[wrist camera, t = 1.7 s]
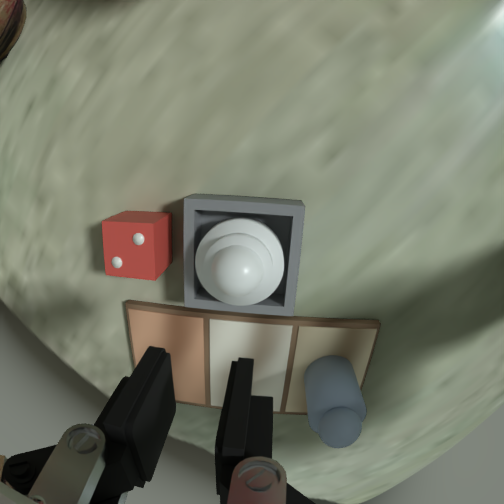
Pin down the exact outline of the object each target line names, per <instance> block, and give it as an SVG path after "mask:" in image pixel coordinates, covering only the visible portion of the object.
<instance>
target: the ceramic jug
mask: <svg viewBox="0 0 504 504" xmlns="http://www.w3.org/2000/svg"><path fill="white" fill-rule="evenodd" d="M25 20H26V6H25V4H24V2H23V0H0V61H2V60H3V59H5V58H6V57H7V55H8V53H9V51H10V49H11V48H12V47H13V46H14V44H15V43H16V41H17V40H18V38H19V36H20V34H21V32H22V29H23V27H24V24H25Z"/></svg>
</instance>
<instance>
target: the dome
mask: <svg viewBox="0 0 504 504" xmlns="http://www.w3.org/2000/svg"><path fill="white" fill-rule="evenodd" d="M195 267H196V272H197V275H198V278H199V280H200V282H201V284H202V285H203V287H204V288H205V289H206V290H207V292H208V293H210V294H211V295H212V296H213V297H215V298H216V299H218V300H220V301H222V302H224V303H227V304H231V305H237V306H245V305H252V304H255V303H258V302H260V301H262V300H264V299H266V298H267V297H269V296H270V295H271V294H272V293H273V292H274V291H275V290H276V288H277V287H278V285H279V283H280V281H281V279H282V276H283V271H284V257H283V249H282V245H281V243H280V240H279V239H278V237H277V235H276V234H275V233H274V231H273V230H272V229H271V228H270V227H269V226H267V225H266V224H264V223H263V222H261V221H259V220H257V219H254V218H250V217H231V218H228V219H225V220H223V221H221V222H219V223H217V224H216V225H215V226H213V227H212V228H211V229H210V230H209V232H208V233H207V234H206V235H205V236H204V238H203V239H202V241H201V242H200V244H199V246H198V249H197V252H196V257H195Z"/></svg>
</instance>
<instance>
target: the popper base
mask: <svg viewBox="0 0 504 504" xmlns="http://www.w3.org/2000/svg"><path fill="white" fill-rule="evenodd" d="M304 215H305V205H304V203H303V202H302V201H301V200H289V199H276V198H263V197H248V196H231V195H213V194H192V195H190V196H188V197H186V198H184V299H185V307H191V308H200V309H210V310H220V311H230V312H242V313H254V314H266V315H280V316H293V314H294V306H295V298H296V290H297V281H298V272H299V264H300V254H301V245H302V235H303V225H304ZM231 217H250V218H254V219H257V220H259V221H261V222H263V223H264V224H266V225H267V226H269V227H270V228H271V229H272V230H273V231H274V233H275V234H276V235H277V237H278V239H279V240H280V243H281V245H282V249H283V257H284V271H283V276H282V279H281V281H280V283H279V285H278V287H277V288H276V290H275V291H274V292H273V293H272V294H271V295H270V296H269V297H267V298H266V299H264V300H262V301H260V302H258V303H255V304H252V305H245V306H237V305H231V304H227V303H224V302H222V301H220V300H218V299H216V298H215V297H213V296H212V295H211V294H210V293H208V292H207V290H206V289H205V288H204V287H203V285H202V284H201V282H200V280H199V278H198V275H197V272H196V267H195V257H196V252H197V249H198V246H199V244H200V242H201V241H202V239H203V238H204V236H205V235H206V234H207V233H208V232H209V230H210V229H211V228H212V227H213V226H215V225H216V224H217V223H219V222H221V221H223V220H225V219H228V218H231Z"/></svg>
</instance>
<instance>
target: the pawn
mask: <svg viewBox="0 0 504 504" xmlns="http://www.w3.org/2000/svg"><path fill="white" fill-rule="evenodd" d="M304 384H305V393H306V402H307V411H308V420H309V425H310V427H311V429H312V430H313V431H315V432H316V433H319V436H320V438H321V440H322V441H323V442H324V443H325V444H326V445H328V446H330V447H333V448H344V447H347V446H349V445H351V444H352V443H354V442H355V441H356V440H357V438H358V437H359V435H360V433H361V429H362V422H363V420H364V419H365V417H366V413H367V410H366V406H365V403H364V400H363V397H362V393H361V390H360V387H359V384H358V381H357V378H356V375H355V372H354V369H353V366H352V364H351V363H350V361H349V360H347V359H346V358H344V357H341V356H337V355H329V356H324V357H321V358H319V359H317V360H315V361H313V362H312V363H311V364H310V365H309V366H308V367H307V369H306V371H305V373H304Z"/></svg>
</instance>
